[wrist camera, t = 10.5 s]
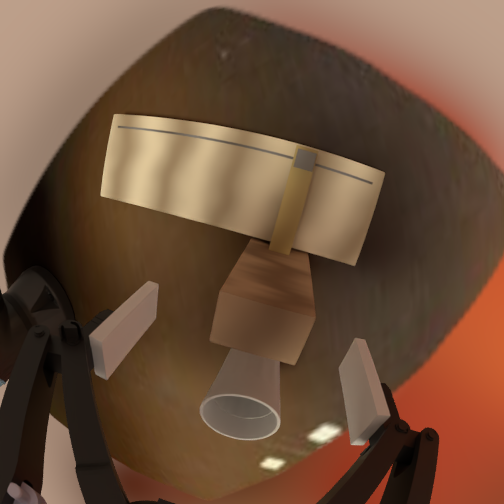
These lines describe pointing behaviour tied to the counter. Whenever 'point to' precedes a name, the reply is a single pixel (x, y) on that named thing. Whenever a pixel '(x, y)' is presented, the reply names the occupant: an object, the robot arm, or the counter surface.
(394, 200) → the counter surface
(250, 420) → the cup
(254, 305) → the gauge
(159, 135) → the board
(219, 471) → the counter surface
